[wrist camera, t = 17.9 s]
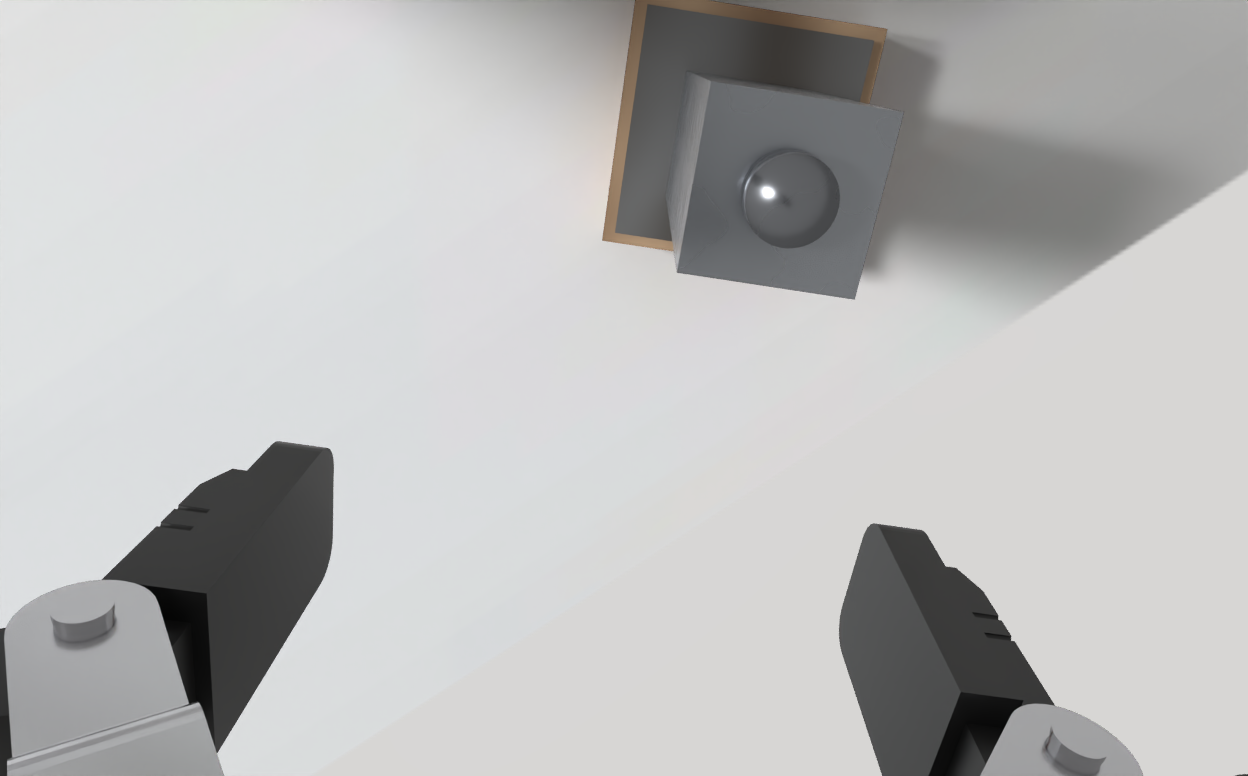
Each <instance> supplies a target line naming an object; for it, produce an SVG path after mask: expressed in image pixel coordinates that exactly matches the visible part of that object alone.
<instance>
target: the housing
mask: <svg viewBox="0 0 1248 776" xmlns="http://www.w3.org/2000/svg"><path fill="white" fill-rule="evenodd" d="M903 114H904V112H901V111H897V110H893V109H888V108H884V107H880V106H875V105H871V104H866V103H862V102H858V101H853V100H849V99H845V98H840V97H836V96H831V95H827V94H823V93H818V92H814V91H810V90H803V89H797V88H791V87H785V86H778V85H772V84H766V83H760V82H754V81H747V80H741V79H735V78H729V77H722V76H716V75H710V74H704V73H698V72H691V71H686V77H685V83H684V89H683V95H682V101H681V108H680V114H679V120H678V126H677V132H676V138H675V144H674V150H673V156H672V162H671V168H670V174H669V180H668V186H667V192H666V202H667V208H668V215H669V222H670V229H671V236H672V242H673V249H674V256H675V263H676V270H677V273H683V274H690V275H697V276H703V277H710V278H716V279H723V280H729V281H736V282H743V283H749V284H756V285H762V286H769V287H775V288H782V289H789V290H795V291H802V292H808V293H815V294H822V295H828V296H835V297H841V298H848V299H854V300H855V296H856V292H857V288H858V285H859V281H860V277H861V273H862V270H863V266H864V262H865V258H866V254H867V251H868V247H869V243H870V239H871V236H872V232H873V228H874V224H875V220H876V217H877V213H878V209H879V205H880V201H881V198H882V194H883V190H884V186H885V183H886V179H887V175H888V171H889V167H890V164H891V160H892V156H893V152H894V148H895V145H896V141H897V137H898V133H899V130H900V126H901V122H902V118H903Z"/></svg>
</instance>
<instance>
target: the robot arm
mask: <svg viewBox="0 0 1248 776" xmlns="http://www.w3.org/2000/svg"><path fill="white" fill-rule="evenodd" d="M333 473H334V463H333V455H332V452H331V450H330V449H328V448H323V447H316V446H309V445H302V444H295V443H288V442H280V441H277V442H275V443H273V444H272V445H271V446H270V447H269V448H268V449H267V450H266V451H265V452H264V453H263V455H262V456H261V457H260V458H259V459H258V460H257V461H256V462H255V463H254V464H253V465H252V466H251V467H250V468H249V469H248V470H247V471H244V470H237V469H231V470H229V471H227V472H225V473H223V474H221V475H219V476H217V477H214V478H212V479H210V480H208V481H206V482H204V483H202V484H200V485H199V486H198V487H197V488H196V489H195V490H194V491H193V492H192V493H190V494H189V495H188V496H187V497H186V498H185V499H184V500H183V501H182V502H181V503H180V504H179V507H178V509H174V510H173V511H172V512H171V513H170V514H169V515H168V516H167V517H166V518H165V519H164V520H163V521H162V522H161V526H160V527H157V526H156V527H155V528H154V529H153V530H152V531H151V532H150V533H149V534H148V535H147V536H146V537H145V538H144V539H143V540H142V541H141V542H140V543H139V544H138V545H137V546H136V547H135V548H134V549H133V550H132V551H131V552H130V553H129V554H128V555H127V556H126V557H125V558H124V559H122V560H121V561H120V562H119V563H118V564H117V565H116V566H115V567H114V568H113V569H112V570H111V571H110V572H109V573H108V574H107V575H106V576H105V577H104V578H103V579H102V580H95V581H87V582H81V583H76V584H72V585H68V586H64V587H62V588H59V589H56V590H53V591H51V592H48V593H46V594H44V595H42V596H40V597H38V598H36V599H34V600H33V601H31V602H29V603H28V604H27V605H25V606H24V607H22V608H21V609H20V610H19V611H18V612H17V613H16V614H15V615H14V616H13V617H12V619H11V620H10V621H9V623H8V625H7V627H6V628H2V629H0V776H224V774H223V771H222V768H221V765H220V762H219V759H218V756H217V753H218V751H219V749H220V748H221V746H222V744H223V743H224V741H225V740H226V738H227V736H228V735H229V733H230V731H231V730H232V728H233V726H234V725H235V723H236V722H237V720H238V718H239V717H240V715H241V713H242V712H243V710H244V708H245V707H246V705H247V703H248V702H249V700H250V699H251V697H252V695H253V694H254V692H255V690H256V689H257V687H258V685H259V684H260V682H261V681H262V679H263V677H264V676H265V674H266V672H267V671H268V669H269V667H270V666H271V664H272V663H273V661H274V659H275V658H276V656H277V654H278V653H279V651H280V649H281V648H282V646H283V645H284V643H285V641H286V640H287V638H288V636H289V635H290V633H291V631H292V630H293V628H294V626H295V625H296V623H297V622H298V620H299V618H300V617H301V615H302V613H303V612H304V610H305V608H306V607H307V605H308V604H309V602H310V600H311V599H312V597H313V595H314V594H315V592H316V590H317V589H318V587H319V586H320V584H321V582H322V580H323V578H324V576H325V573H326V570H327V567H328V564H329V560H330V555H331V549H332V539H333ZM839 639H840V647H841V651H842V654H843V657H844V661H845V664H846V666H847V670H848V673H849V676H850V679H851V682H852V685H853V688H854V691H855V694H856V697H857V700H858V703H859V706H860V709H861V712H862V715H863V718H864V721H865V724H866V727H867V730H868V733H869V737H870V739H871V743H872V745H873V749H874V752H875V755H876V758H877V761H878V764H879V767H880V770H881V773H882V776H1143V773H1142V770H1141V768H1140V766H1139V764H1138V762H1137V761H1136V759H1135V758H1134V756H1133V755H1132V754H1131V752H1130V751H1129V750H1128V749H1127V748H1126V746H1124V745H1123V744H1122V743H1121V742H1120V741H1119V740H1118V739H1117V738H1116V737H1115V736H1113V735H1112V734H1111V733H1109V731H1107V730H1106V729H1104V728H1103V727H1101V726H1100V725H1098V724H1097V723H1095V722H1093V721H1091V720H1090V719H1088V718H1086V717H1084V716H1082V715H1080V714H1078V713H1075V712H1073V711H1070V710H1067V709H1065V708H1061V707H1057V706H1055V705H1054V703H1053V702H1052V700H1051V699H1050V697H1049V696H1048V694H1047V692H1046V691H1045V689H1044V687H1043V686H1042V684H1041V683H1040V681H1039V679H1038V678H1037V676H1036V675H1035V673H1034V672H1033V670H1032V668H1031V667H1030V665H1029V664H1028V662H1027V660H1026V659H1025V657H1024V656H1023V654H1022V652H1021V651H1020V649H1019V648H1018V646H1017V645H1016V643H1015V642H1014V641H1011V635H1010V633H1009V632H1008V630H1007V629H1006V627H1005V625H1004V624H1003V622H1002V621H1000V620H998V614H997V613H996V611H995V609H994V608H993V606H992V605H991V603H990V602H989V600H988V598H987V597H986V595H985V594H984V592H983V591H982V590H981V589H980V588H979V587H977V586H976V585H975V584H974V583H973V582H972V581H970V580H969V579H968V578H967V577H966V576H965V575H964V574H962V573H961V572H960V571H959V570H958V569H957V568H952V567H945V565H944V563H943V562H942V560H941V558H940V557H939V555H938V553H937V551H936V550H935V548H934V546H933V544H932V543H931V541H930V540H929V538H928V536H927V534H926V533H925V532H924V531H922V530H917V529H909V528H903V527H896V526H888V525H881V524H871V525H870V526H869V527H868V528H867V530H866V532H865V534H864V537H863V540H862V543H861V546H860V550H859V553H858V556H857V560H856V563H855V566H854V569H853V573H852V576H851V580H850V583H849V586H848V589H847V593H846V596H845V599H844V603H843V606H842V610H841V615H840V625H839ZM1237 776H1248V774H1247V775H1246V774H1243V775H1237Z"/></svg>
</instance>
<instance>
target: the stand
mask: <svg viewBox="0 0 1248 776" xmlns="http://www.w3.org/2000/svg"><path fill="white" fill-rule="evenodd" d="M886 33H887V29H884V28H878V27H872V26H866V25H859V24H853V23H847V22H841V21H834V20H828V19H822V18H816V17H810V16H803V15H797V14H791V13H785V12H778V11H772V10H766V9H760V8H754V7H747V6H741V5H735V4H729V3H722V2H716V1H710V0H635V5H634V13H633V20H632V27H631V35H630V42H629V49H628V56H627V64H626V71H625V78H624V86H623V93H622V100H621V108H620V115H619V122H618V129H617V137H616V144H615V151H614V159H613V166H612V173H611V180H610V188H609V195H608V202H607V210H606V217H605V224H604V231H603V239H602V241H609V242H615V243H622V244H629V245H635V246H642V247H649V248H655V249H662V250H669V251H674V249H673V242H672V236H671V229H670V222H669V215H668V208H667V202H666V192H667V186H668V180H669V174H670V168H671V162H672V156H673V150H674V144H675V138H676V132H677V126H678V120H679V114H680V108H681V101H682V95H683V89H684V83H685V77H686V71H691V72H698V73H704V74H710V75H716V76H722V77H729V78H735V79H741V80H747V81H754V82H760V83H766V84H772V85H778V86H785V87H791V88H797V89H803V90H810V91H814V92H818V93H823V94H827V95H831V96H836V97H840V98H845V99H849V100H853V101H858V102H862V103H866V104H869V103H870V99H871V95H872V90H873V86H874V82H875V78H876V74H877V70H878V66H879V62H880V58H881V54H882V50H883V46H884V42H885V38H886Z"/></svg>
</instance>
